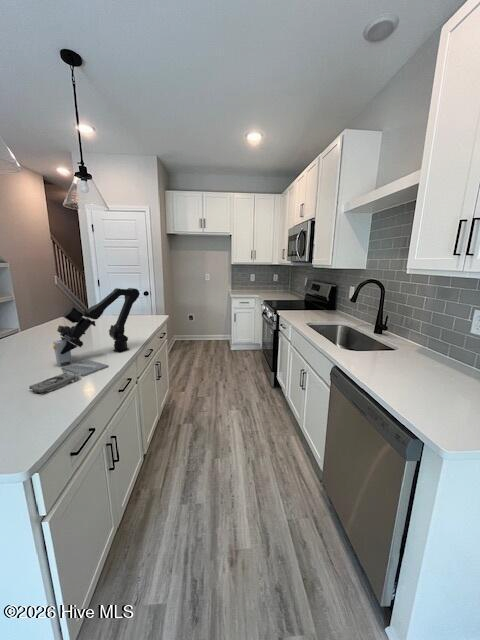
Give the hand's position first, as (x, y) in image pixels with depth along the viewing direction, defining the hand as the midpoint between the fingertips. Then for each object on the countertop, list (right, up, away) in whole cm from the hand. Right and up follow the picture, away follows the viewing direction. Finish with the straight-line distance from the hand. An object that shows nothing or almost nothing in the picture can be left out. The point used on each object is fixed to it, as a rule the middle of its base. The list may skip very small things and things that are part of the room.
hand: (59, 352), depth 133 cm
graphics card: (+12, -12, -20) cm, 26 cm away
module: (+1, -6, +2) cm, 7 cm away
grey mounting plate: (+15, -7, -2) cm, 17 cm away
